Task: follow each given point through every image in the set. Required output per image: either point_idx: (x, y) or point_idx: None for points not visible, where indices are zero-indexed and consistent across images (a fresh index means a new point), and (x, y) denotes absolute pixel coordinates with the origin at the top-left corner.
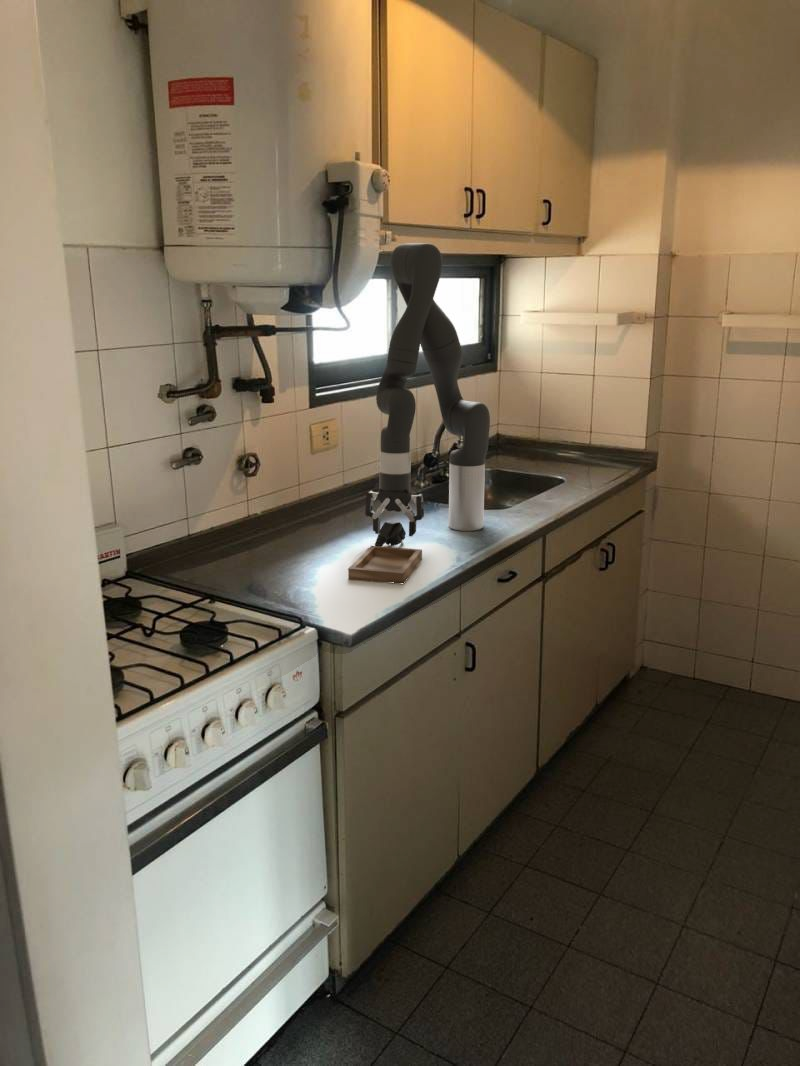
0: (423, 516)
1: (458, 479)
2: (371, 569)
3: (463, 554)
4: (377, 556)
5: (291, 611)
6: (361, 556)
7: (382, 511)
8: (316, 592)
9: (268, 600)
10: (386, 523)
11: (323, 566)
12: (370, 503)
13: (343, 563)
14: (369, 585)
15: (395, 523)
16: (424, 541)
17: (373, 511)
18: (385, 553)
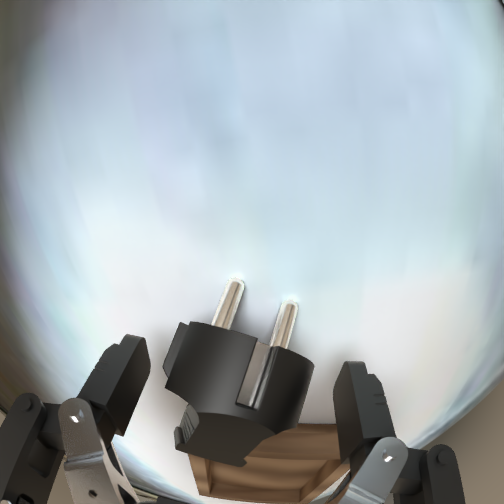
0: (446, 456)
1: None
2: (244, 500)
3: (492, 359)
4: None
5: (181, 500)
6: (196, 475)
7: (117, 472)
8: (179, 488)
9: (139, 484)
10: (192, 453)
11: (121, 438)
12: (46, 500)
13: (149, 435)
14: None
15: (247, 454)
16: (412, 233)
17: (54, 436)
18: None
